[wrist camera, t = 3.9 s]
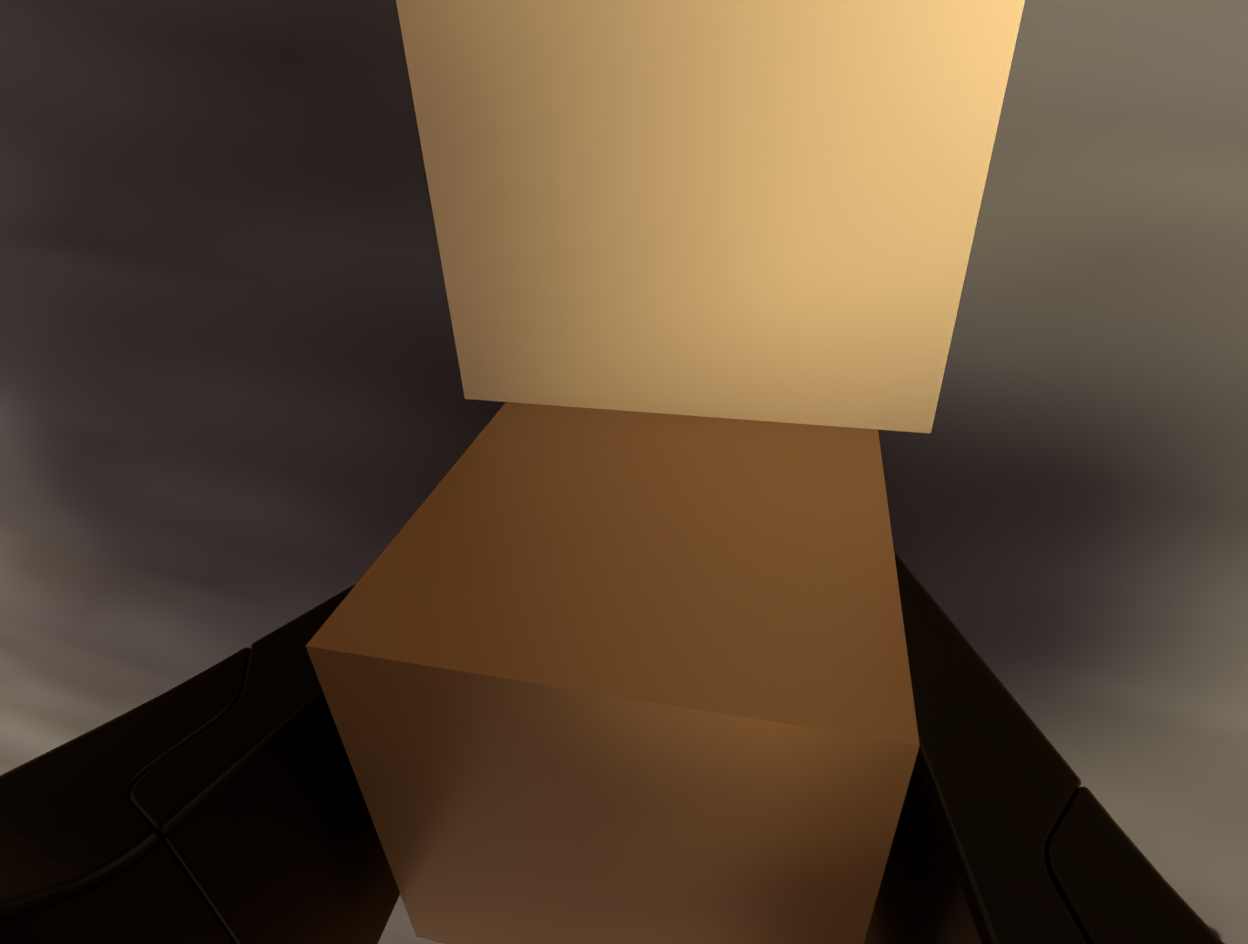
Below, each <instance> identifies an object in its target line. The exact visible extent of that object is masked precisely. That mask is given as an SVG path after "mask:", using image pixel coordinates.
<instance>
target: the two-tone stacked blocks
mask: <svg viewBox="0 0 1248 944" xmlns="http://www.w3.org/2000/svg"><path fill="white" fill-rule="evenodd" d="M1024 2H1025V0H396V4H397V9H398V15H399V21H400V27H401V32H402V38H403V44H404V50H405V56H406V61H407V67H408V73H409V79H410V84H411V90H412V96H413V102H414V108H415V113H416V119H417V125H418V131H419V136H420V142H421V148H422V154H423V160H424V165H425V171H426V177H427V183H428V188H429V194H430V200H431V206H432V212H433V217H434V223H435V229H436V235H437V240H438V246H439V252H440V258H441V264H442V269H443V275H444V281H445V287H446V292H447V298H448V304H449V310H450V316H451V321H452V327H453V333H454V339H455V344H456V350H457V356H458V362H459V368H460V373H461V379H462V385H463V391H464V396H465V399H473V400H487V401H500V402H505V404H504V405H503V406H502V407H501V409H500V410H499V411H498V412H497V413H496V415H495V416H494V417H493V418H492V420H491V421H490V422H489V423H488V424H487V426H486V427H485V428H484V429H483V431H482V432H481V433H480V434H479V435H478V437H477V438H476V439H475V440H474V441H473V443H472V444H471V445H470V446H469V448H468V449H467V450H466V451H465V452H464V454H463V455H462V456H461V457H460V459H459V460H458V461H457V462H456V463H455V465H454V466H453V467H452V468H451V469H450V471H449V472H448V473H447V474H446V476H445V477H444V478H443V479H442V480H441V482H440V483H439V484H438V485H437V487H436V488H435V489H434V490H433V491H432V493H431V494H430V495H429V496H428V497H427V499H426V500H425V501H424V502H423V504H422V505H421V506H420V507H419V508H418V510H417V511H416V512H415V513H414V515H413V516H412V517H411V518H410V519H409V521H408V522H407V523H406V524H405V526H404V527H403V528H402V529H401V530H400V532H399V533H398V534H397V535H396V536H395V538H394V539H393V540H392V541H391V543H390V544H389V545H388V546H387V547H386V549H385V550H384V551H383V552H382V554H381V555H380V556H379V557H378V558H377V560H376V561H375V562H374V563H373V564H372V566H371V567H370V568H369V569H368V571H367V572H366V573H365V574H364V575H363V577H362V578H361V579H360V580H359V582H358V583H357V584H356V585H355V586H354V588H353V589H352V590H351V591H350V593H349V594H348V595H347V596H346V597H345V599H344V600H343V601H342V602H341V603H340V605H339V606H338V607H337V608H336V610H335V611H334V612H333V613H332V614H331V616H330V617H329V618H328V619H327V621H326V622H325V623H324V624H323V625H322V627H321V628H320V629H319V630H318V631H317V633H316V634H315V635H314V636H313V638H312V639H311V640H310V641H309V642H308V644H307V645H306V648H307V651H308V653H309V656H310V659H311V661H312V664H313V667H314V669H315V672H316V674H317V677H318V680H319V682H320V685H321V687H322V690H323V693H324V695H325V698H326V701H327V703H328V706H329V708H330V711H331V714H332V716H333V719H334V722H335V724H336V727H337V729H338V732H339V735H340V737H341V740H342V742H343V745H344V748H345V750H346V753H347V756H348V758H349V761H350V763H351V766H352V769H353V771H354V774H355V776H356V779H357V782H358V784H359V787H360V790H361V792H362V795H363V797H364V800H365V803H366V805H367V808H368V810H369V813H370V816H371V818H372V821H373V824H374V826H375V829H376V831H377V834H378V837H379V839H380V842H381V845H382V847H383V850H384V852H385V855H386V858H387V860H388V863H389V865H390V868H391V871H392V873H393V876H394V879H395V881H396V884H397V886H398V889H399V892H400V894H401V897H402V899H403V902H404V905H405V907H406V910H407V913H408V915H409V918H410V920H411V923H412V926H413V928H414V931H415V933H416V936H417V937H421V938H425V939H429V940H433V941H437V942H441V943H445V944H864V941H865V937H866V934H867V930H868V927H869V923H870V920H871V916H872V913H873V909H874V905H875V902H876V898H877V895H878V891H879V888H880V884H881V881H882V877H883V874H884V870H885V866H886V863H887V859H888V856H889V852H890V849H891V845H892V842H893V838H894V835H895V831H896V828H897V824H898V820H899V817H900V813H901V810H902V806H903V803H904V799H905V796H906V792H907V789H908V785H909V781H910V778H911V774H912V771H913V767H914V764H915V760H916V757H917V753H918V750H919V746H920V745H919V737H918V730H917V722H916V714H915V707H914V699H913V692H912V684H911V676H910V669H909V661H908V654H907V646H906V638H905V631H904V623H903V616H902V608H901V600H900V593H899V585H898V578H897V570H896V562H895V555H894V547H893V539H892V532H891V524H890V517H889V509H888V501H887V494H886V486H885V479H884V471H883V463H882V456H881V448H880V441H879V433H878V430H891V431H904V432H918V433H931V431H932V426H933V421H934V417H935V412H936V408H937V403H938V398H939V394H940V389H941V384H942V380H943V375H944V371H945V366H946V361H947V357H948V352H949V348H950V343H951V338H952V334H953V329H954V325H955V320H956V315H957V311H958V306H959V302H960V297H961V292H962V288H963V283H964V278H965V274H966V269H967V265H968V260H969V255H970V251H971V246H972V242H973V237H974V232H975V228H976V223H977V219H978V214H979V209H980V205H981V200H982V196H983V191H984V186H985V182H986V177H987V173H988V168H989V163H990V159H991V154H992V149H993V145H994V140H995V136H996V131H997V126H998V122H999V117H1000V113H1001V108H1002V103H1003V99H1004V94H1005V90H1006V85H1007V80H1008V76H1009V71H1010V67H1011V62H1012V57H1013V53H1014V48H1015V44H1016V39H1017V34H1018V30H1019V25H1020V20H1021V16H1022V11H1023V7H1024Z"/></svg>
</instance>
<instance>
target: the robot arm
mask: <svg viewBox="0 0 1248 944" xmlns="http://www.w3.org/2000/svg"><path fill="white" fill-rule="evenodd" d="M894 555H895V562H896V570H897V578H898V585H899V593H900V600H901V608H902V616H903V623H904V631H905V638H906V646H907V654H908V661H909V669H910V676H911V684H912V692H913V699H914V707H915V714H916V722H917V730H918V737H919V745H920V746H919V750H918V753H917V757H916V760H915V764H914V767H913V771H912V774H911V778H910V781H909V785H908V789H907V792H906V796H905V799H904V803H903V806H902V810H901V813H900V817H899V820H898V824H897V828H896V831H895V835H894V838H893V842H892V845H891V849H890V852H889V856H888V859H887V863H886V866H885V870H884V874H883V877H882V881H881V884H880V888H879V891H878V895H877V898H876V902H875V905H874V909H873V913H872V916H871V920H870V923H869V927H868V930H867V934H866V937H865V941H864V944H1225V943H1223V942H1222V941H1221V940H1220V939H1219V938H1218V937H1217V935H1216V934H1215V933H1214V932H1213V931H1212V930H1211V929H1210V928H1209V927H1208V926H1207V925H1206V924H1205V923H1204V921H1203V920H1202V919H1201V918H1200V917H1199V916H1198V915H1197V914H1196V913H1195V912H1194V911H1193V910H1192V909H1191V907H1190V906H1189V905H1188V904H1187V903H1186V902H1185V901H1184V900H1183V899H1182V898H1181V897H1180V896H1179V894H1178V893H1177V892H1176V891H1175V890H1174V889H1173V888H1172V887H1171V886H1170V885H1169V884H1168V883H1167V882H1166V880H1165V879H1164V878H1163V877H1162V876H1161V875H1160V874H1159V872H1158V871H1157V870H1156V869H1155V868H1154V867H1153V865H1152V864H1151V863H1150V862H1149V861H1148V860H1147V858H1146V857H1145V856H1144V855H1143V854H1142V852H1141V851H1140V850H1139V849H1138V848H1137V847H1136V845H1135V844H1134V843H1133V842H1132V841H1131V840H1130V838H1129V837H1128V836H1127V835H1126V834H1125V833H1124V831H1123V830H1122V829H1121V828H1120V827H1119V826H1118V824H1117V823H1116V822H1115V821H1114V820H1113V818H1112V817H1111V816H1110V815H1109V813H1108V812H1107V811H1106V810H1105V809H1104V807H1103V806H1102V805H1101V804H1100V802H1099V801H1098V800H1097V799H1096V798H1095V796H1094V795H1093V794H1092V793H1091V791H1090V790H1089V789H1088V788H1086V787H1080V785H1081V780H1080V779H1079V777H1078V776H1077V775H1076V774H1075V772H1074V771H1073V770H1072V769H1071V767H1070V766H1069V765H1068V764H1067V763H1066V761H1065V760H1064V759H1063V758H1062V756H1061V755H1060V754H1059V753H1058V752H1057V750H1056V749H1055V748H1054V747H1053V745H1052V744H1051V743H1050V742H1049V741H1048V739H1047V738H1046V737H1045V736H1044V734H1043V733H1042V732H1041V731H1040V729H1039V728H1038V727H1037V726H1036V725H1035V723H1034V722H1033V721H1032V720H1031V718H1030V717H1029V716H1028V715H1027V714H1026V712H1025V711H1024V710H1023V709H1022V707H1021V706H1020V705H1019V704H1018V703H1017V701H1016V700H1015V699H1014V698H1013V696H1012V695H1011V694H1010V693H1009V692H1008V690H1007V689H1006V688H1005V687H1004V685H1003V684H1002V683H1001V682H1000V680H999V679H998V678H997V677H996V676H995V674H994V673H993V672H992V671H991V669H990V668H989V667H988V666H987V665H986V663H985V662H984V661H983V660H982V658H981V657H980V656H979V655H978V654H977V652H976V651H975V650H974V649H973V647H972V646H971V645H970V644H969V642H968V641H967V640H966V639H965V638H964V636H963V635H962V634H961V633H960V631H959V630H958V629H957V628H956V627H955V625H954V624H953V623H952V622H951V620H950V619H949V618H948V617H947V616H946V614H945V613H944V612H943V611H942V609H941V608H940V607H939V606H938V605H937V603H936V602H935V601H934V600H933V598H932V597H931V596H930V595H929V593H928V592H927V591H926V590H925V589H924V587H923V586H922V585H921V584H920V582H919V581H918V580H917V579H916V578H915V576H914V575H913V574H912V573H911V571H910V570H909V569H908V568H907V567H906V565H905V564H904V563H903V562H902V560H901V559H900V558H899V557H898V555H897V554H896V553H895V552H894ZM355 585H356V584H355ZM355 585H353V586H351V587H350V588H348V589H346V590H344V591H343V592H341V593H339V594H338V595H336V596H334V597H332V598H331V599H329V600H327V601H325V602H324V603H322V604H320V605H318V606H317V607H315V608H313V609H312V610H310V611H308V612H306V613H305V614H303V615H301V616H299V617H298V618H296V619H294V620H292V621H291V622H289V623H287V624H286V625H284V626H282V627H280V628H279V629H277V630H275V631H273V632H272V633H270V634H268V635H266V636H265V637H263V638H261V639H259V640H258V641H256V642H254V643H253V644H252V646H251V649H250V648H244V649H242V650H240V651H239V652H237V653H235V654H233V655H232V656H230V657H228V658H226V659H225V660H223V661H221V662H219V663H218V664H216V665H214V666H212V667H211V668H209V669H207V670H205V671H203V672H202V673H200V674H198V675H196V676H194V677H193V678H191V679H189V680H187V681H185V682H184V683H182V684H180V685H178V686H176V687H175V688H173V689H171V690H169V691H167V692H166V693H164V694H162V695H160V696H158V697H156V698H154V699H152V700H150V701H148V702H146V703H144V704H142V705H140V706H138V707H136V708H135V709H133V710H131V711H129V712H127V713H125V714H123V715H121V716H119V717H117V718H115V719H113V720H111V721H109V722H107V723H105V724H103V725H101V726H99V727H97V728H95V729H93V730H91V731H89V732H87V733H85V734H83V735H81V736H79V737H77V738H75V739H73V740H71V741H69V742H67V743H65V744H63V745H61V746H59V747H57V748H55V749H53V750H51V751H49V752H47V753H45V754H43V755H41V756H39V757H37V758H35V759H33V760H31V761H29V762H27V763H25V764H23V765H21V766H19V767H17V768H15V769H13V770H11V771H9V772H7V773H5V774H3V775H1V776H0V944H378V941H379V939H380V937H381V935H382V933H383V930H384V928H385V926H386V924H387V922H388V919H389V917H390V915H391V913H392V910H393V908H394V906H395V904H396V902H397V899H398V897H399V895H400V892H399V889H398V886H397V884H396V881H395V879H394V876H393V873H392V871H391V868H390V865H389V863H388V860H387V858H386V855H385V852H384V850H383V847H382V845H381V842H380V839H379V837H378V834H377V831H376V829H375V826H374V824H373V821H372V818H371V816H370V813H369V810H368V808H367V805H366V803H365V800H364V797H363V795H362V792H361V790H360V787H359V784H358V782H357V779H356V776H355V774H354V771H353V769H352V766H351V763H350V761H349V758H348V756H347V753H346V750H345V748H344V745H343V742H342V740H341V737H340V735H339V732H338V729H337V727H336V724H335V722H334V719H333V716H332V714H331V711H330V708H329V706H328V703H327V701H326V698H325V695H324V693H323V690H322V687H321V685H320V682H319V680H318V677H317V674H316V672H315V669H314V667H313V664H312V661H311V659H310V656H309V653H308V651H307V648H306V645H307V644H308V642H309V641H310V640H311V639H312V638H313V636H314V635H315V634H316V633H317V631H318V630H319V629H320V628H321V627H322V625H323V624H324V623H325V622H326V621H327V619H328V618H329V617H330V616H331V614H332V613H333V612H334V611H335V610H336V608H337V607H338V606H339V605H340V603H341V602H342V601H343V600H344V599H345V597H346V596H347V595H348V594H349V593H350V591H351V590H352V589H353V588H354V586H355ZM1079 787H1080V788H1079Z"/></svg>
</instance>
